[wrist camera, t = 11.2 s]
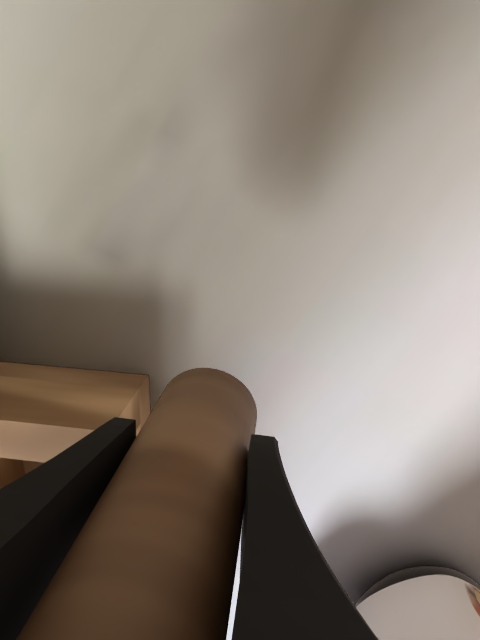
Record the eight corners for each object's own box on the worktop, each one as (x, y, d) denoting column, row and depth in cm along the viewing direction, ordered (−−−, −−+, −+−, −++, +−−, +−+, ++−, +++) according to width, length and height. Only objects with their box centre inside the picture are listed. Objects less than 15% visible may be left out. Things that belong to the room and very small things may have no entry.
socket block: (155, 506, 24) (122, 585, 19) (17, 489, 25) (-46, 560, 20) (148, 375, 21) (108, 431, 16) (-9, 361, 22) (-90, 410, 17)
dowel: (253, 458, 13) (206, 814, 6) (161, 446, 14) (4, 771, 6) (260, 373, 12) (214, 680, 5) (160, 362, 13) (-32, 635, 5)
